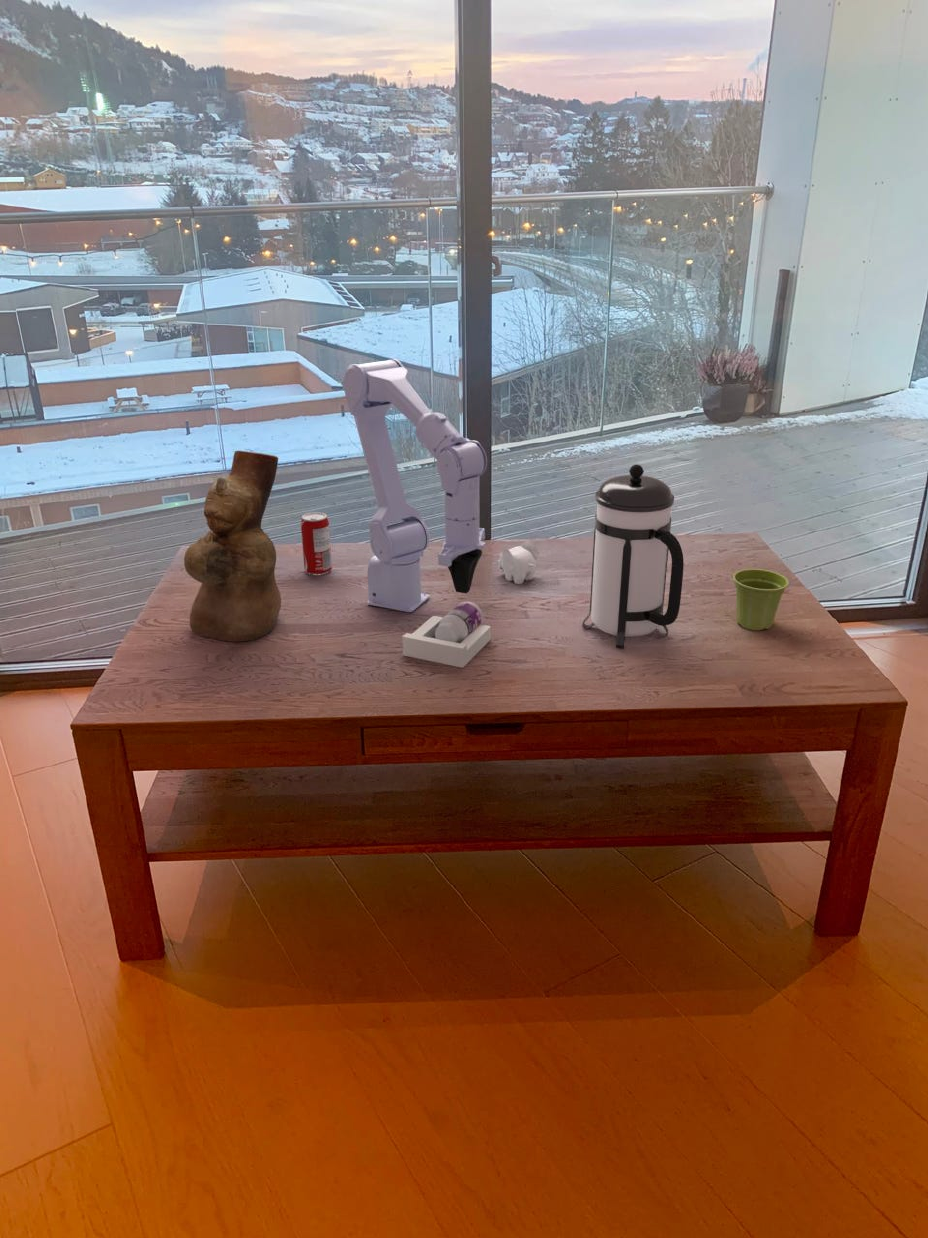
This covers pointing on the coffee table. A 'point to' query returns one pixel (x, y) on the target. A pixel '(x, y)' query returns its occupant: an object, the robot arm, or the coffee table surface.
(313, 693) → the coffee table surface
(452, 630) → the pill bottle
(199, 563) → the ceramic vessel
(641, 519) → the coffee press
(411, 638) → the cradle
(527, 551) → the elephant figurine
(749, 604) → the plant pot
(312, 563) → the soda can
